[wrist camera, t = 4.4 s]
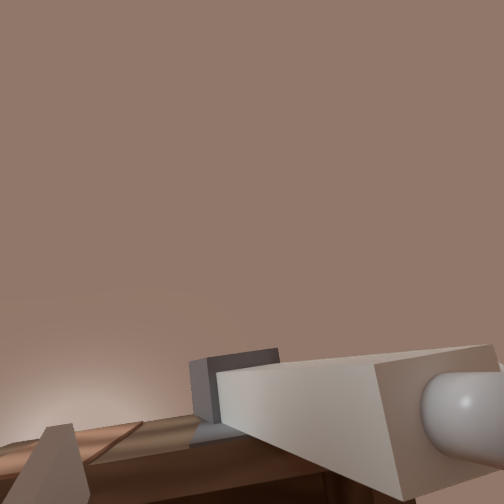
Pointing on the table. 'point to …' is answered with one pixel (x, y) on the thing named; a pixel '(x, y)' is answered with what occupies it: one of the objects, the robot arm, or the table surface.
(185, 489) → the walnut shelf
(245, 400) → the bar
